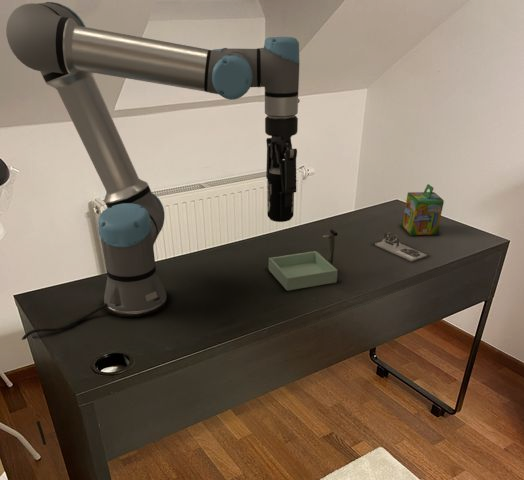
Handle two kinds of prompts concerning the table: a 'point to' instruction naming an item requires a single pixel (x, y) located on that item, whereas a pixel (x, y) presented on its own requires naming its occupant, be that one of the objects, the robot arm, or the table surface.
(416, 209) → the chalk box
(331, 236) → the tap
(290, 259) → the sink
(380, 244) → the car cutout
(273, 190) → the beverage can
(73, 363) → the table surface
